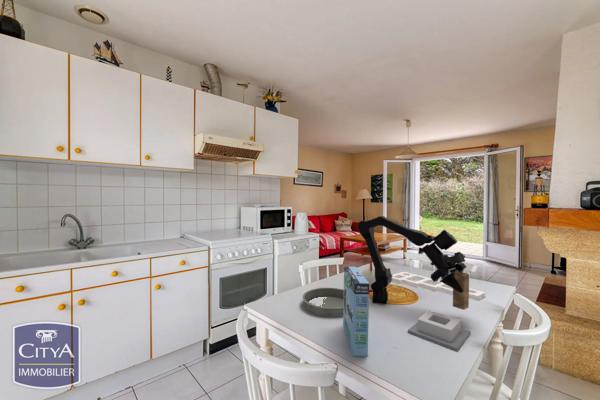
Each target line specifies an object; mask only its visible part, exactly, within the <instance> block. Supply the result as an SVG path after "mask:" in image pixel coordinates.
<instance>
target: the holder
mask: <svg viewBox="0 0 600 400" xmlns="http://www.w3.org/2000/svg"><path fill="white" fill-rule="evenodd" d="M414 280H416V281H414ZM391 282H392V283H396V284H399V285H401V284H404V285H406V286H410V287H413V288H422V289H426V290H428V291H432V292H441V293H444V294H448V295H450V296H453V288H452V287H450V286H448V285H446V284H444V283H442V282H440V280H439V279H438V281H436V282H433V280H432V279H431V277H427V276H423V275H419V274H415V273H411V272H407V271H401V272H396V273H394V274H392V281H391ZM484 298H486V291H485V292H484V291H481V290H478V289H474V288H471V287H469V300H470V299H471V300H475V301H480V300H482V299H484Z"/></svg>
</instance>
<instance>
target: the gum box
mask: <svg viewBox="0 0 600 400" xmlns="http://www.w3.org/2000/svg"><path fill="white" fill-rule="evenodd" d="M343 269H344V270H343V290H344V302H343V316H342V326H343V330H344V332H345V334H346V335H345V336H346V338H347V341H348V345H349V347H350V352H351V353H352V354H351V355H352V357H357V358H358V357H360V358H362V357H364V358H365V357H366V358H367V357H369V317H370V315H369V314H370V313H369V309H370V306H369V305H370V293H369V284H370V283H369V282H368V281H367V280H366V279H365V277H364V276H363V275H362V274H361V273H362V272H361V271H360V269H359V268H358V267H357V266H344V267H343Z"/></svg>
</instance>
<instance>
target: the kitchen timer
mask: <svg viewBox="0 0 600 400" xmlns="http://www.w3.org/2000/svg"><path fill="white" fill-rule="evenodd" d="M361 274H362V275H363V276H364V277H365V279H366V280H367V281H368V282H369V283H370V284H369V292H373V290H372V288H371V284H373V283H374V282H375V268H374V266H373V262H372V259H370V260H369V266H367V267H366V268H364V270H362V272H361Z"/></svg>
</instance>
